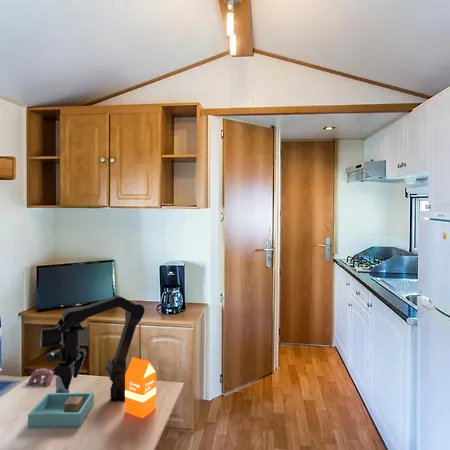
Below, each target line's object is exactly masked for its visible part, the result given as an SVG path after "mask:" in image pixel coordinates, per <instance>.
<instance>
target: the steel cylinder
mask: <svg viewBox="0 0 450 450" xmlns="http://www.w3.org/2000/svg"><path fill="white" fill-rule="evenodd" d="M55 393H70V387H69V388H68V389H65V388H64V385H63V382H62V380H61V378H60V377H59V376H56V377H55Z"/></svg>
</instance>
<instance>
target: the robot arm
mask: <svg viewBox="0 0 450 450" xmlns="http://www.w3.org/2000/svg"><path fill="white" fill-rule="evenodd" d="M116 308H121V309H122V310H125V313H124V319H125V320H124V321H125V322H124V326H123V329H122V332H121V336H120V338H119V339H120V340H119V342H118V346H117V349H116V350H115V351H116V352H115V354H114V357H113V358H112V359H108V361H107V365H106V366H105V368H104V370H105V374H106V376H107V378H108V379H109V380H110V381H111V387H110V402H125V374H126V372H127V364H126V363H127V361H126V360H127V357H128V354H129V351H130V348H131V344H132V340H133V338H134V335H135V330H136V328H137V325H138V324H139V323H140V322H141V320H142V319H143V316H144V314H145V310H146V309H145V308H144V305H143V304H141V303H139V302H138V301H135V300H134V301H130V300H128V299H126V298H124V297H122V296H121V295H119V294H115V295H114V296H112V297H108V298H106V299H103V300H100V301H96V302H93V303H91V304H88V305H85V306H74V307H68V308H66V309H64V310H63V311H62V313H61V317H60V318H59V320H57V323H56V324H55V326H54V327H47V328H46V327H45V328H44V327H43V328H41V329H40V336H39V345H40V349H43V348H44V349H46V348H50V347H56V346H59V345H60V344H61V343H62V346H61V347H60V348H58V349H55V350H53V351H50V352H48V353H47V354H46V356H45V360H44V361H45V362H46V363H48V365H51V364H53V363H55V362H58V361H59V363H58V364H57V365H56V366H55V367H54V368H53V369H52V371H53V375H54V376H56V377H57V376H59V377H60V378H61V380H62V382H63V385H64V388H65V389H68V388H69V389H70V385H71V382H72V380H73V379H76V378H77V377H78V376H79V373H80V370H81V368H82V366H83V364H84V360H86V356H87V349H86V348H85V347H82V348H81V342H80V331H83V330H85V327H84V326H83V325H82V324H81V323H83V322H85V321H86V320H87V319H89V318H90V317H93V316H95V315H98V314H102V313H104V312H106V311H109V310H112V309H116Z"/></svg>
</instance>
